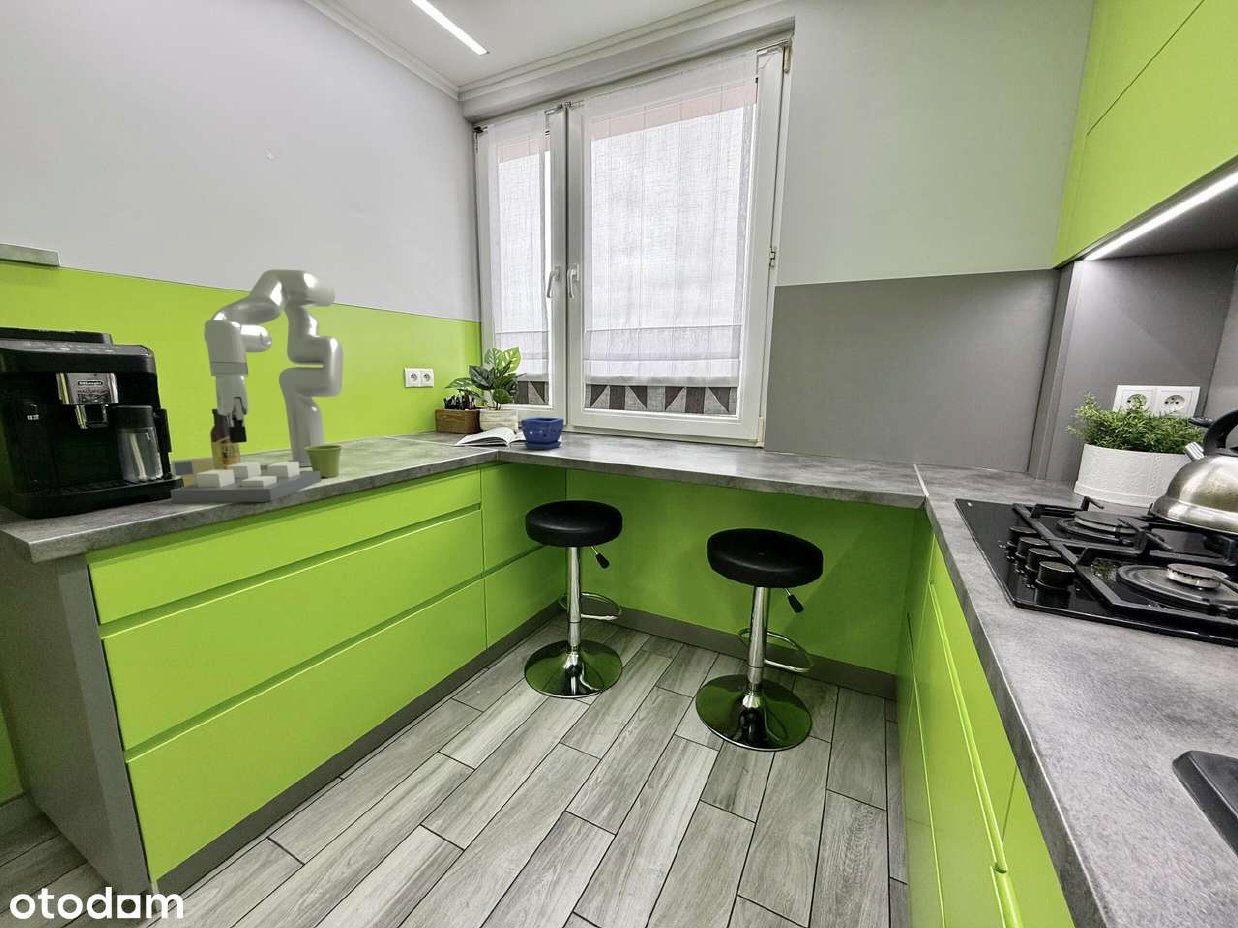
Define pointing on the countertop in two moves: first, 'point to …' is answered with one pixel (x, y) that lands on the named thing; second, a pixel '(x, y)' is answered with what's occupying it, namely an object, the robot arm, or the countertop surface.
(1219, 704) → the countertop surface
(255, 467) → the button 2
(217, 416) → the sauce bottle
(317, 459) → the plant pot
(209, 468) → the card
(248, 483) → the button
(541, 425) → the flower pot
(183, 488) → the button board
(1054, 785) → the countertop surface
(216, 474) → the button
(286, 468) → the button
